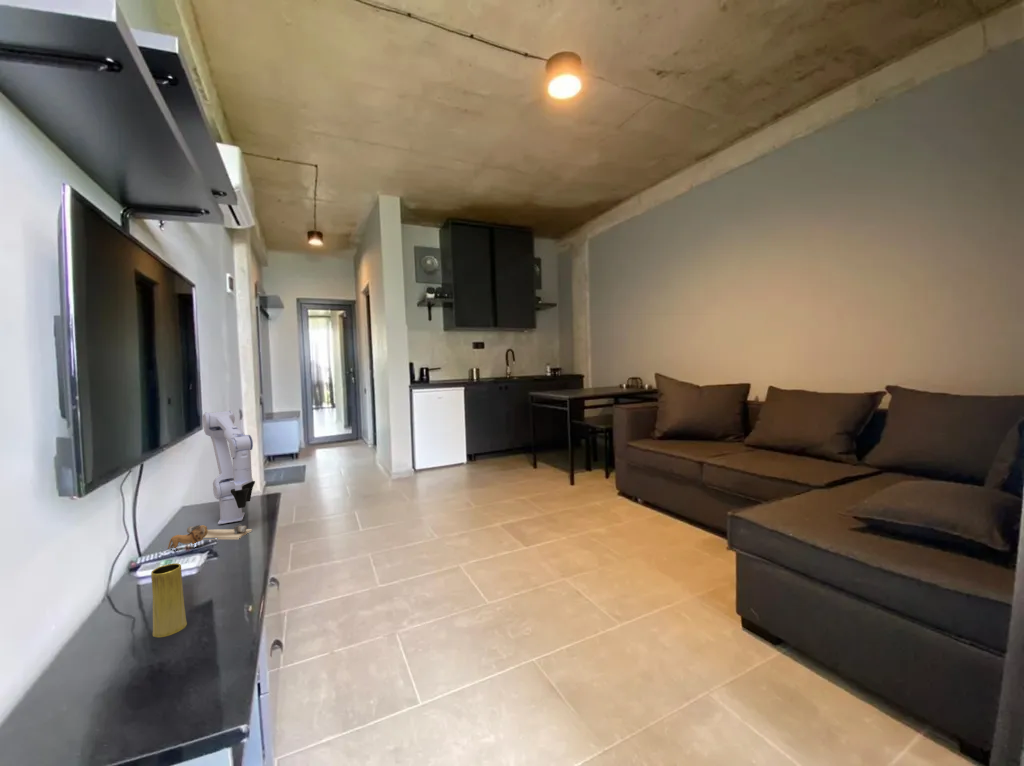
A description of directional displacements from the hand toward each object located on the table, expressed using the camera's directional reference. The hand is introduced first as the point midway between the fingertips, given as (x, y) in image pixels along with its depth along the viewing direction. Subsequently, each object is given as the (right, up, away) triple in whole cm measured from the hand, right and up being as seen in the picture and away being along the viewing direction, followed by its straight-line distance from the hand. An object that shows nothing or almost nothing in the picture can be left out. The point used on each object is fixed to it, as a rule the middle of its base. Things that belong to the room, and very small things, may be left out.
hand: (244, 504), depth 156 cm
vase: (+22, -11, -61) cm, 65 cm away
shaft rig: (-6, -10, -5) cm, 13 cm away
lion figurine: (-8, -11, -17) cm, 22 cm away
